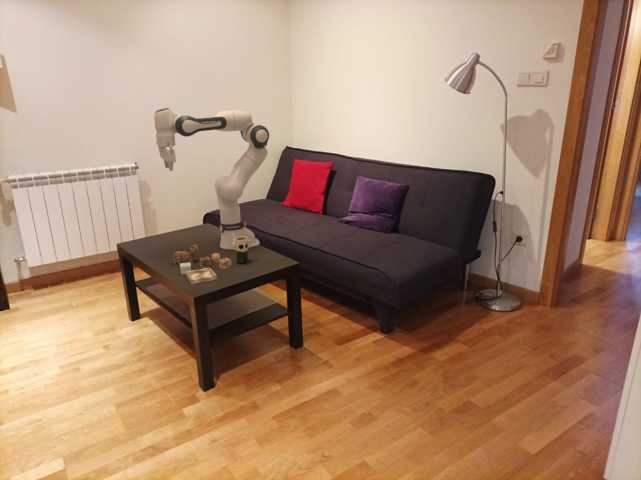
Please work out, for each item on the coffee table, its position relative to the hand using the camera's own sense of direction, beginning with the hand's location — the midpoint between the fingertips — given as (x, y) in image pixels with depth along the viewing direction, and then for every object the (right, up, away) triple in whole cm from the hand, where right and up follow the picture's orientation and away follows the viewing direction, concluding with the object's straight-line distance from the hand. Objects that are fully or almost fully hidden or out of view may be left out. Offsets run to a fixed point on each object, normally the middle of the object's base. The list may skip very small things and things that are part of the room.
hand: (169, 169), depth 248 cm
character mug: (+37, -48, +3) cm, 61 cm away
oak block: (+29, -50, -4) cm, 58 cm away
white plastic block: (+11, -52, -9) cm, 54 cm away
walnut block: (+20, -50, -4) cm, 54 cm away
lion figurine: (+8, -48, +3) cm, 49 cm away
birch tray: (+21, -54, -16) cm, 60 cm away
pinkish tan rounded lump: (+23, -48, +4) cm, 53 cm away
